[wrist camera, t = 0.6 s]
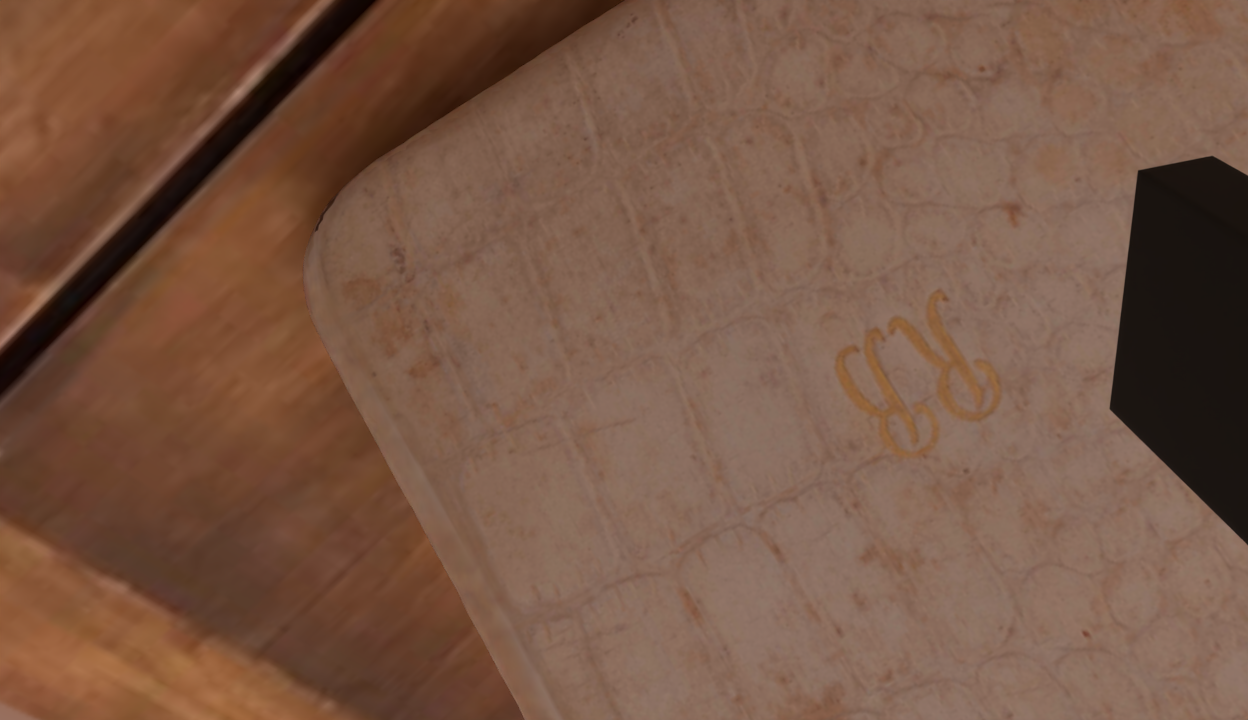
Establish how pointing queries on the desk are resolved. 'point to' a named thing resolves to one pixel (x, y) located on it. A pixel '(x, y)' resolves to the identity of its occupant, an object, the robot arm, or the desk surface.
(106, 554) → the desk surface
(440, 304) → the case
